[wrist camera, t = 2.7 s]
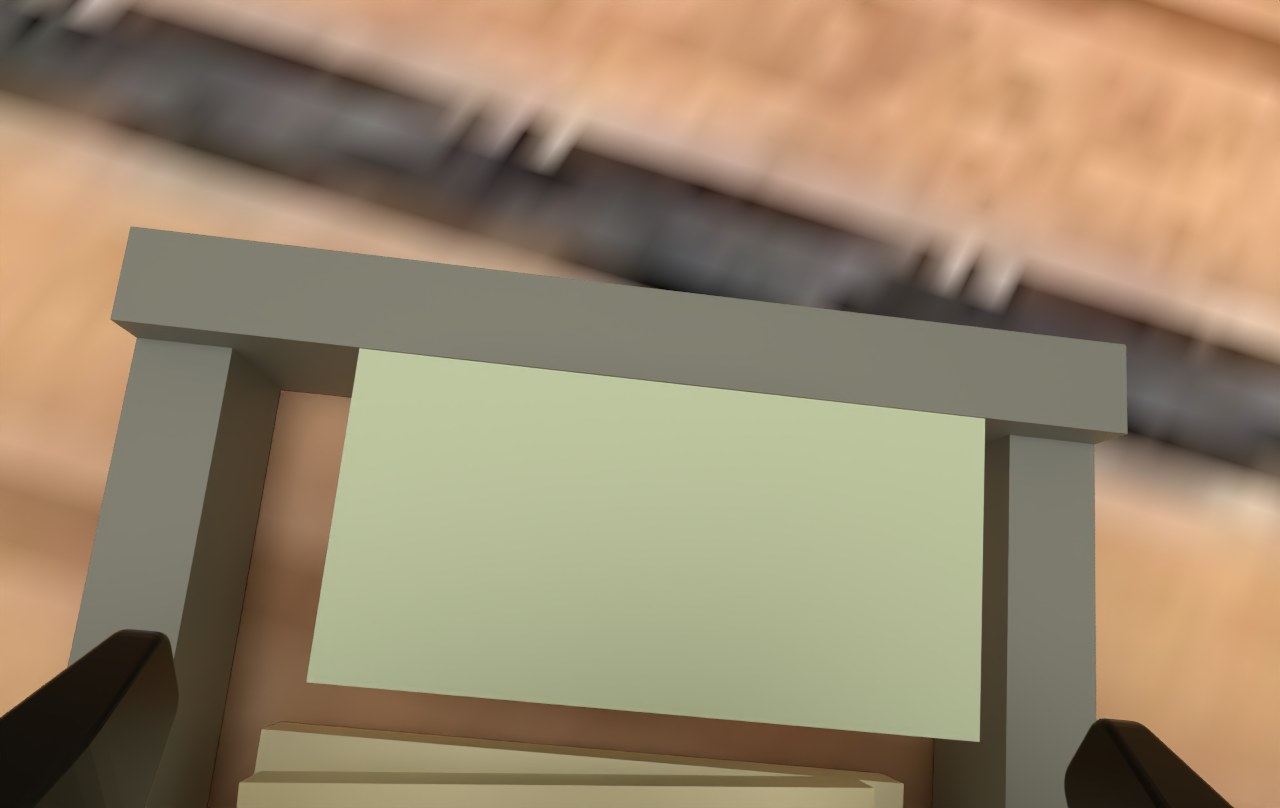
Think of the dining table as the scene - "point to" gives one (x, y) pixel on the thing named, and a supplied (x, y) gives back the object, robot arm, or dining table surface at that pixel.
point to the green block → (654, 549)
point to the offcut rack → (591, 344)
